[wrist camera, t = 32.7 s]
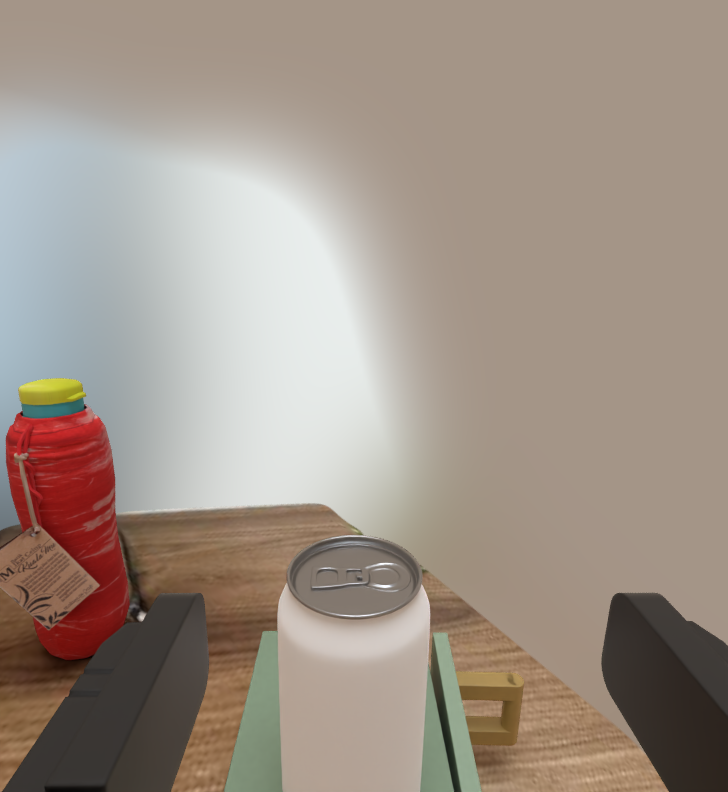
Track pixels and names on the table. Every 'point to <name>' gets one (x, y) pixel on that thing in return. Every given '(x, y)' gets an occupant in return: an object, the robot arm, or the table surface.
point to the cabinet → (261, 742)
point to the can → (353, 667)
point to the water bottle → (64, 521)
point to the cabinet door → (471, 729)
